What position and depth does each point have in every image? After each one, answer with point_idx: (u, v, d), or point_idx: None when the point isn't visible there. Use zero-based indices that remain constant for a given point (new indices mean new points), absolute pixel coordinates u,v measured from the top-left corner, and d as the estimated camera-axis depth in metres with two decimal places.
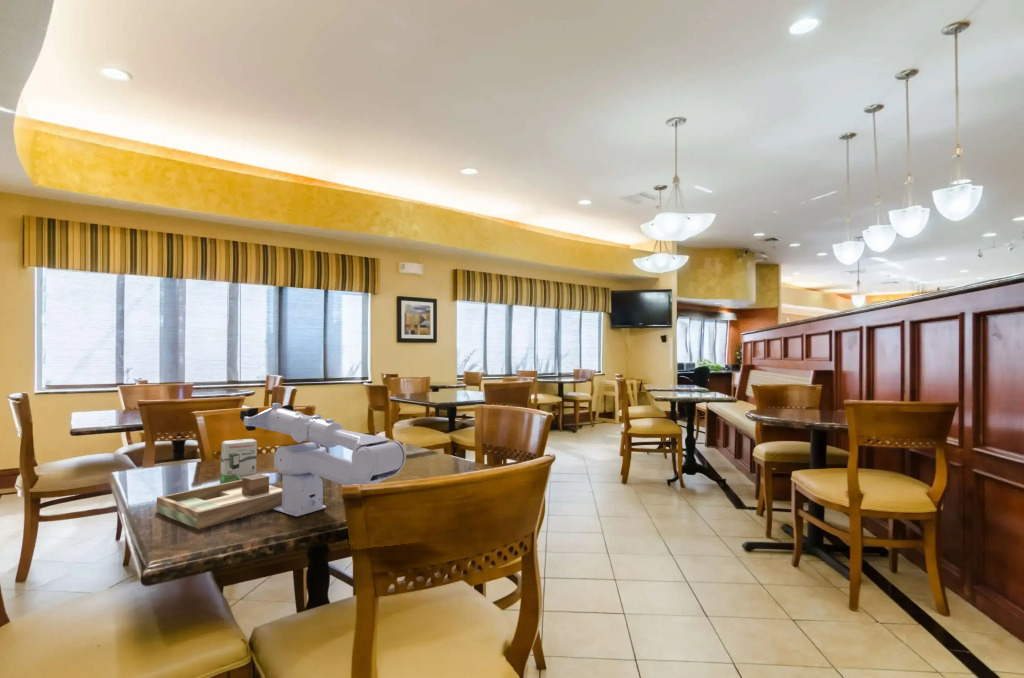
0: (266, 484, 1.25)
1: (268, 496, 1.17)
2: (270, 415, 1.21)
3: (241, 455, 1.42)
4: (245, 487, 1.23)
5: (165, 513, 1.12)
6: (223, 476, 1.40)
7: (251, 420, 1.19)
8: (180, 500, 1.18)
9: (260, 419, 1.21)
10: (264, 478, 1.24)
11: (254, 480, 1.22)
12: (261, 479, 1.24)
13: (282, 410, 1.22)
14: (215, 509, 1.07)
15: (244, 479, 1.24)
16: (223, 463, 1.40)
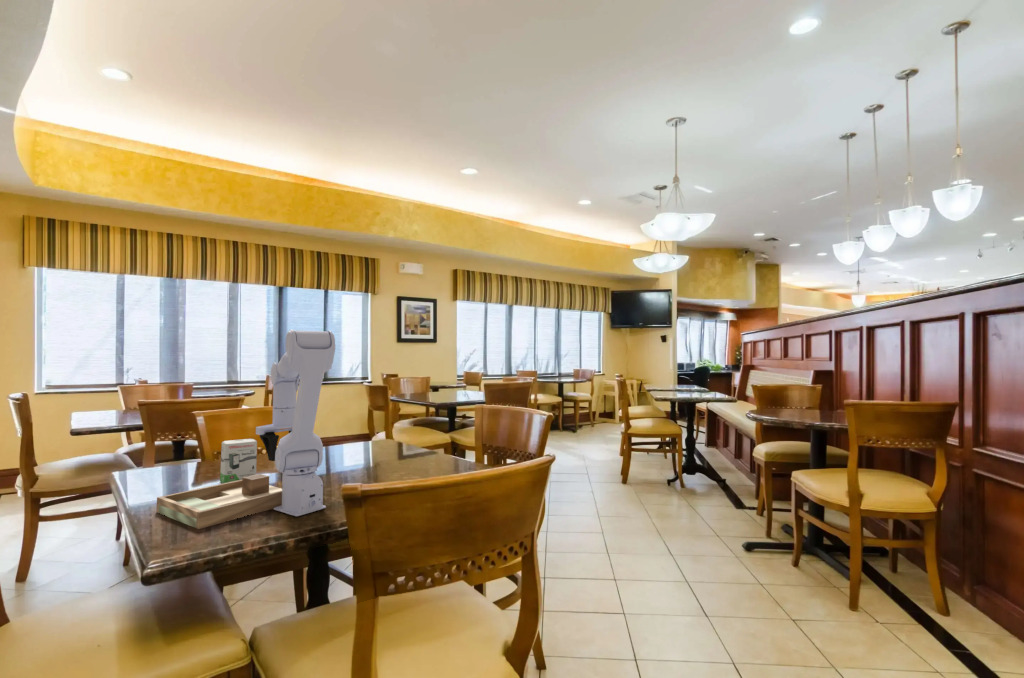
0: (266, 484, 1.25)
1: (268, 496, 1.17)
2: None
3: (241, 455, 1.42)
4: (245, 487, 1.23)
5: (165, 513, 1.12)
6: (223, 476, 1.40)
7: None
8: (180, 500, 1.18)
9: None
10: (264, 478, 1.24)
11: (254, 480, 1.22)
12: (261, 479, 1.24)
13: None
14: (215, 509, 1.07)
15: (244, 479, 1.24)
16: (223, 463, 1.40)
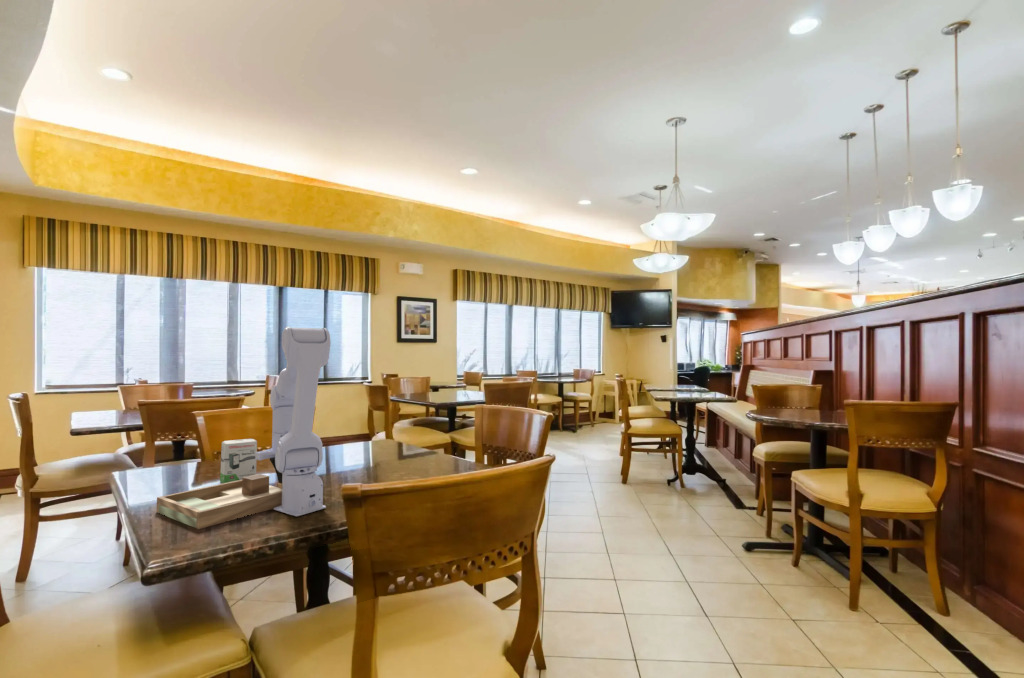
0: (266, 484, 1.25)
1: (268, 496, 1.17)
2: (272, 444, 1.30)
3: (241, 455, 1.42)
4: (245, 487, 1.23)
5: (165, 513, 1.12)
6: (223, 476, 1.40)
7: None
8: (180, 500, 1.18)
9: None
10: (264, 478, 1.24)
11: (254, 480, 1.22)
12: (261, 479, 1.24)
13: None
14: (215, 509, 1.07)
15: (244, 479, 1.24)
16: (223, 463, 1.40)
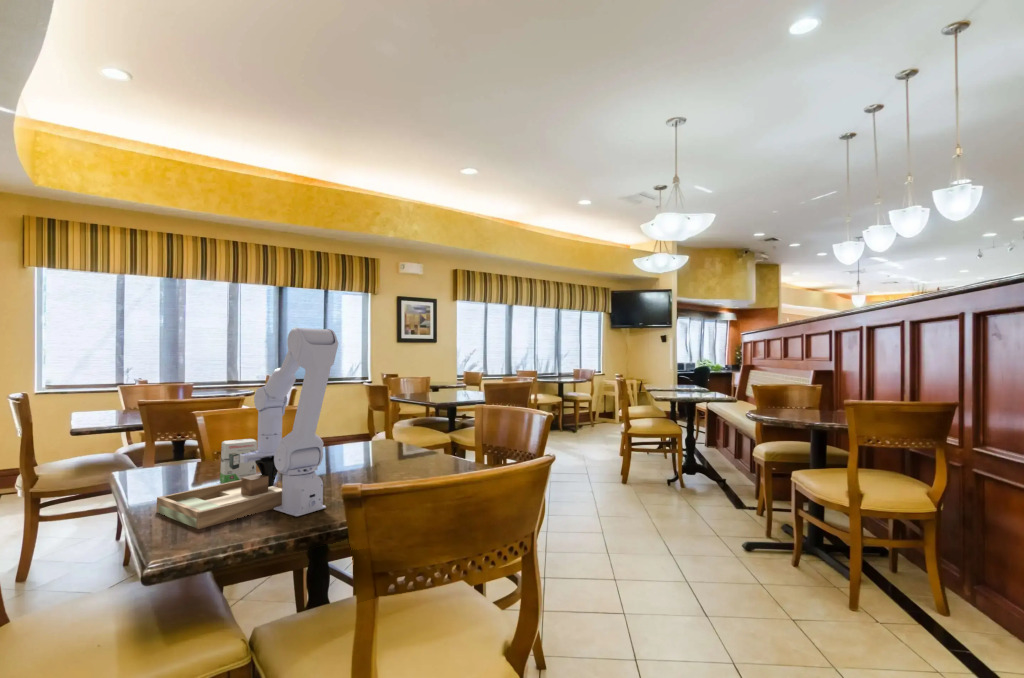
0: (265, 484, 1.25)
1: (268, 496, 1.17)
2: None
3: None
4: (244, 487, 1.23)
5: (165, 513, 1.12)
6: (223, 476, 1.40)
7: None
8: (180, 500, 1.18)
9: None
10: (263, 478, 1.24)
11: (253, 480, 1.22)
12: (260, 479, 1.24)
13: None
14: (215, 509, 1.07)
15: (243, 479, 1.23)
16: (223, 463, 1.40)
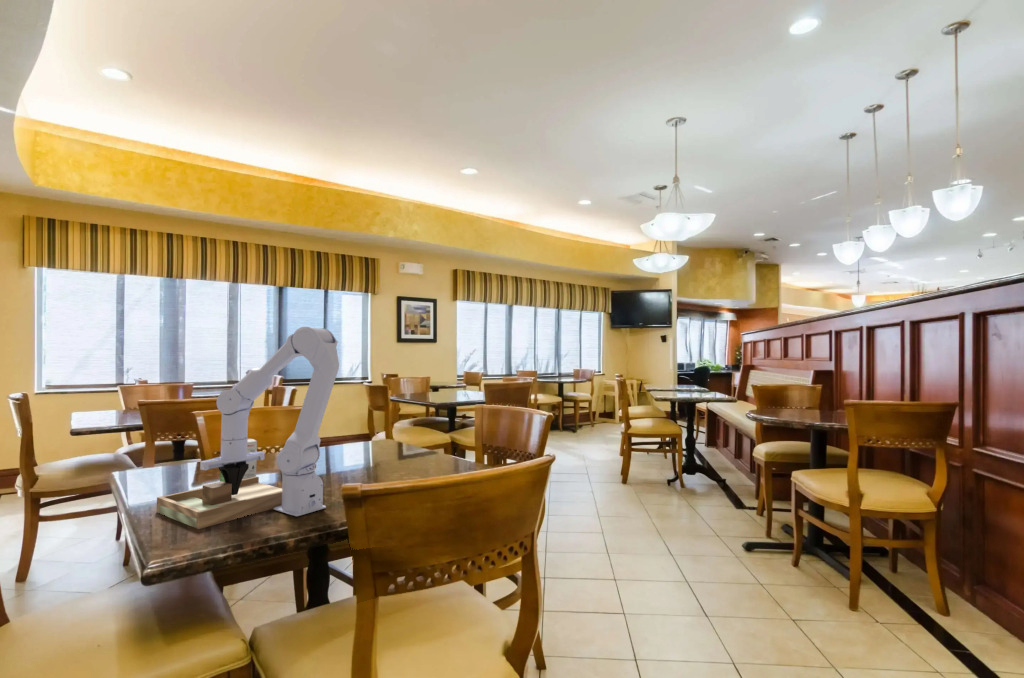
0: (228, 492, 1.17)
1: (268, 496, 1.17)
2: None
3: None
4: (205, 496, 1.15)
5: (165, 513, 1.12)
6: None
7: None
8: (180, 500, 1.18)
9: None
10: (226, 486, 1.17)
11: (214, 488, 1.14)
12: (222, 487, 1.16)
13: None
14: (215, 509, 1.07)
15: (204, 487, 1.16)
16: None
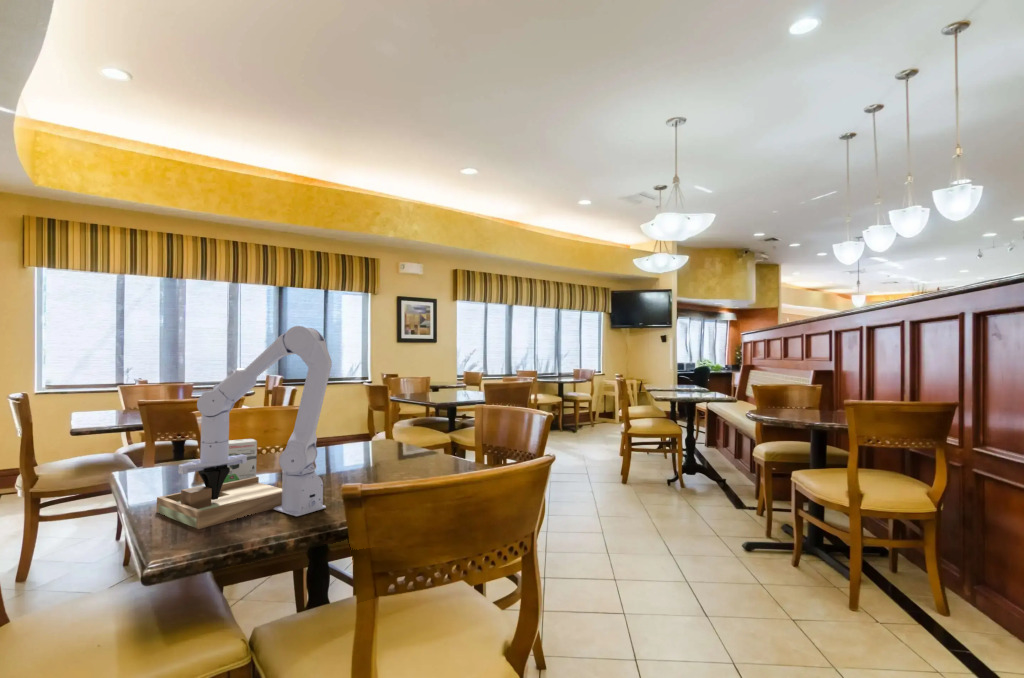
0: (208, 497, 1.13)
1: (268, 496, 1.17)
2: (200, 455, 1.15)
3: None
4: (184, 501, 1.11)
5: (165, 513, 1.12)
6: None
7: None
8: (180, 500, 1.18)
9: None
10: (205, 491, 1.13)
11: (193, 493, 1.11)
12: (202, 492, 1.12)
13: None
14: (215, 509, 1.07)
15: (183, 492, 1.12)
16: None
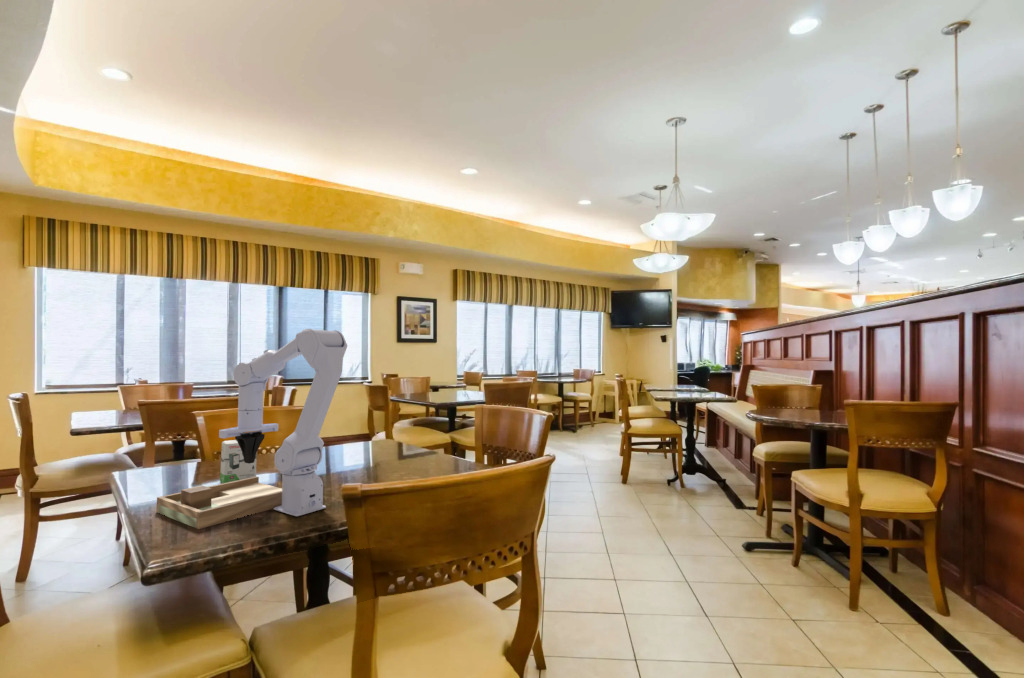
0: (208, 497, 1.13)
1: (268, 496, 1.17)
2: None
3: (241, 455, 1.42)
4: (184, 501, 1.11)
5: (165, 513, 1.12)
6: (223, 476, 1.40)
7: None
8: (180, 500, 1.18)
9: None
10: (205, 491, 1.13)
11: (193, 493, 1.11)
12: (202, 492, 1.12)
13: None
14: (215, 509, 1.07)
15: (183, 492, 1.12)
16: (223, 463, 1.40)
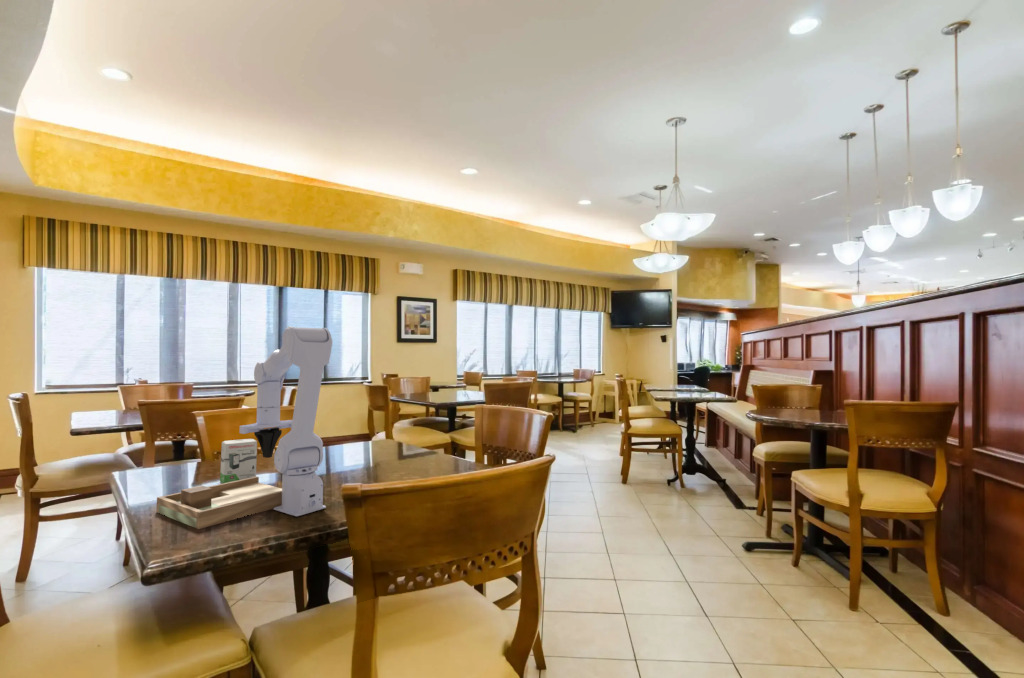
0: (208, 497, 1.13)
1: (268, 496, 1.17)
2: None
3: (241, 455, 1.42)
4: (184, 501, 1.11)
5: (165, 513, 1.12)
6: (223, 476, 1.40)
7: None
8: (180, 500, 1.18)
9: None
10: (205, 491, 1.13)
11: (193, 493, 1.11)
12: (202, 492, 1.12)
13: None
14: (215, 509, 1.07)
15: (183, 492, 1.12)
16: (223, 463, 1.40)
